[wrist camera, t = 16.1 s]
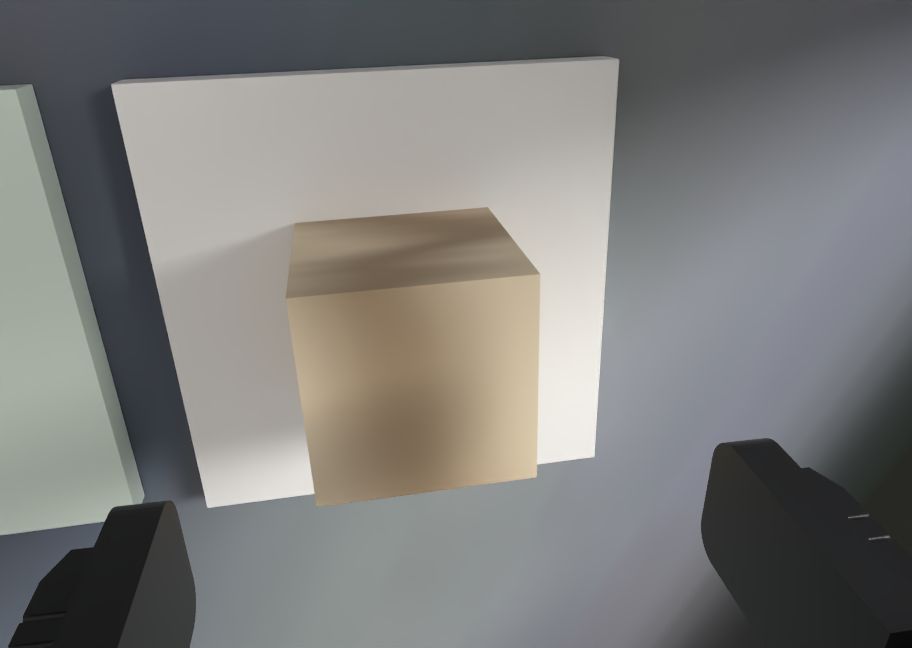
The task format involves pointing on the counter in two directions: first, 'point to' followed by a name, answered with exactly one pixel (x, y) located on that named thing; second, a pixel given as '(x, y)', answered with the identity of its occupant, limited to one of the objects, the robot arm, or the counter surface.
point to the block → (414, 353)
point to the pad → (355, 196)
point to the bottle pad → (50, 350)
